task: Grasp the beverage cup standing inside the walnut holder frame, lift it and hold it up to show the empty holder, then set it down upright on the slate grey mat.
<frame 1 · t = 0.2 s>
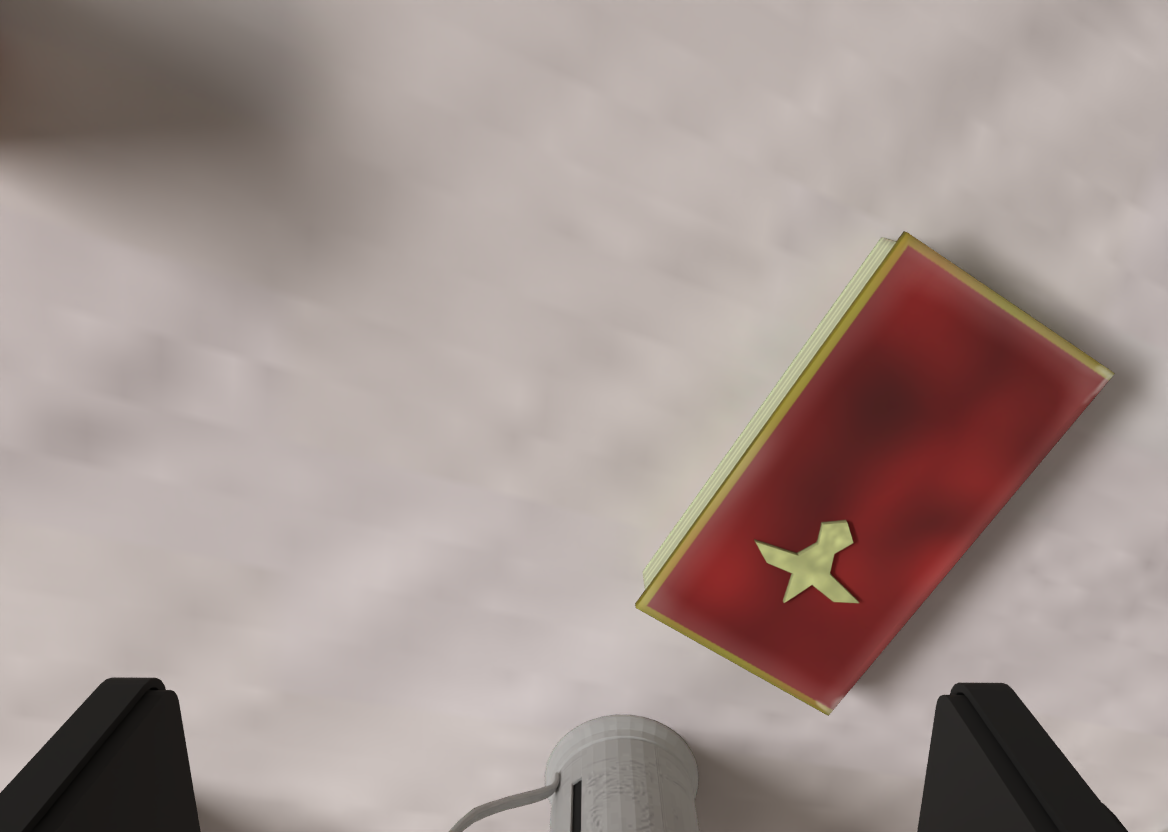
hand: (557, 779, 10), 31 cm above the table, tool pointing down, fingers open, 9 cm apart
hardcover book: (842, 466, 43), on the table
glass holder: (578, 760, 48), on the table
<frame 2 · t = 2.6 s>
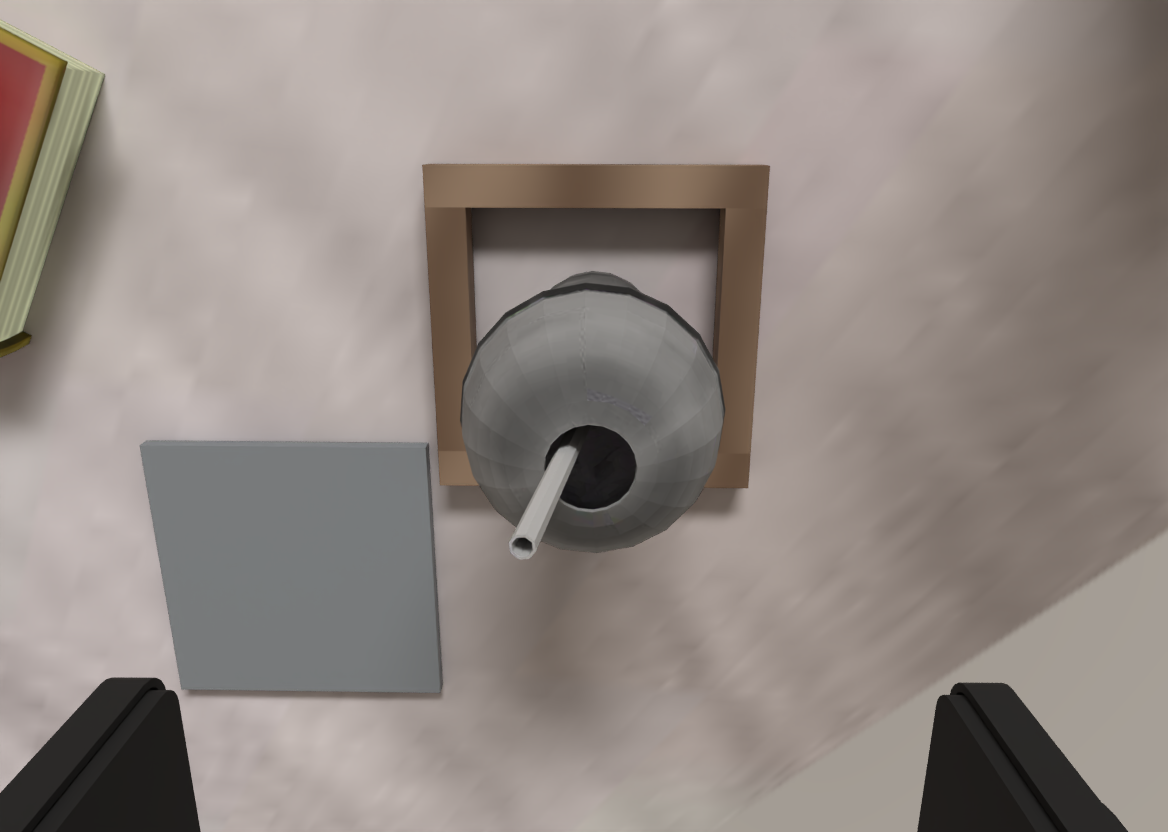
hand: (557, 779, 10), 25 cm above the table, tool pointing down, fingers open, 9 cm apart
slate mat: (301, 568, 38), on the table
beverage cup: (594, 326, 34), resting in holder frame
holder frame: (594, 327, 34), on the table
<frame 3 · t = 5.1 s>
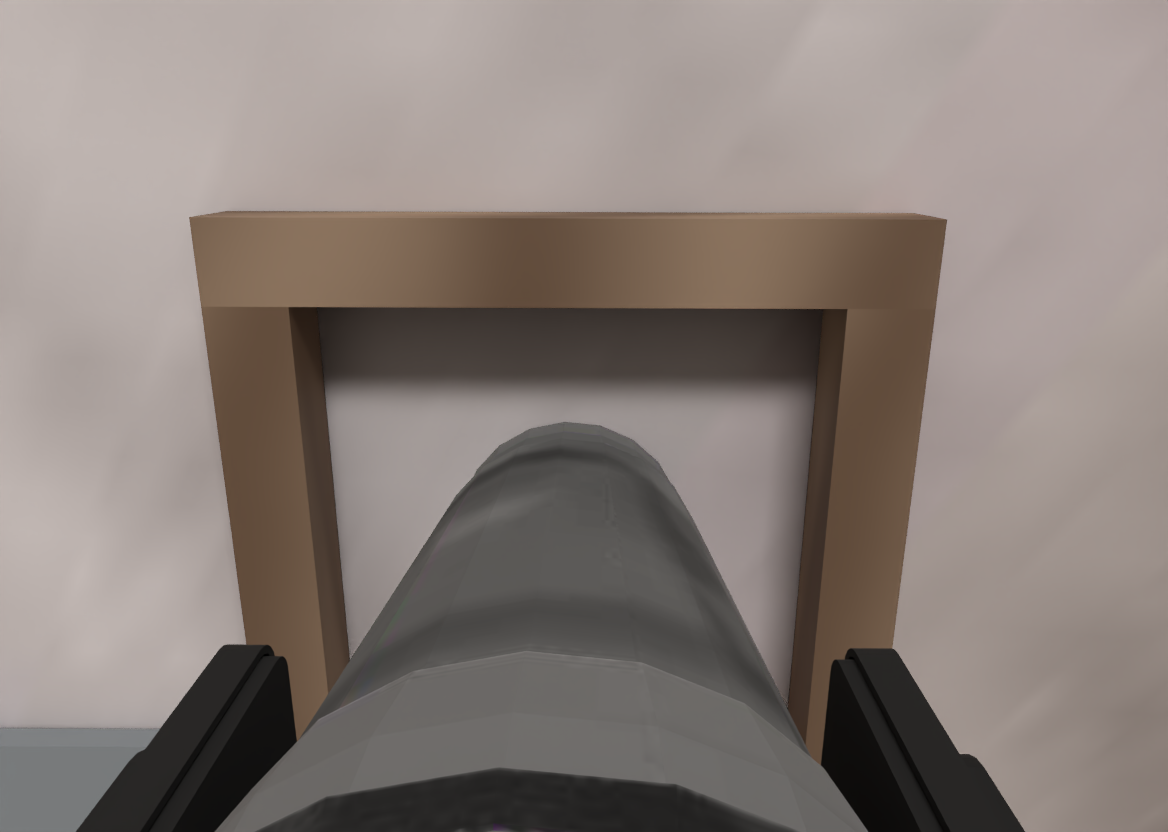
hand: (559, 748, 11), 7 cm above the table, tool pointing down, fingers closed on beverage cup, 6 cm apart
beverage cup: (571, 522, 18), resting in holder frame, touching gripper
holder frame: (570, 526, 17), on the table
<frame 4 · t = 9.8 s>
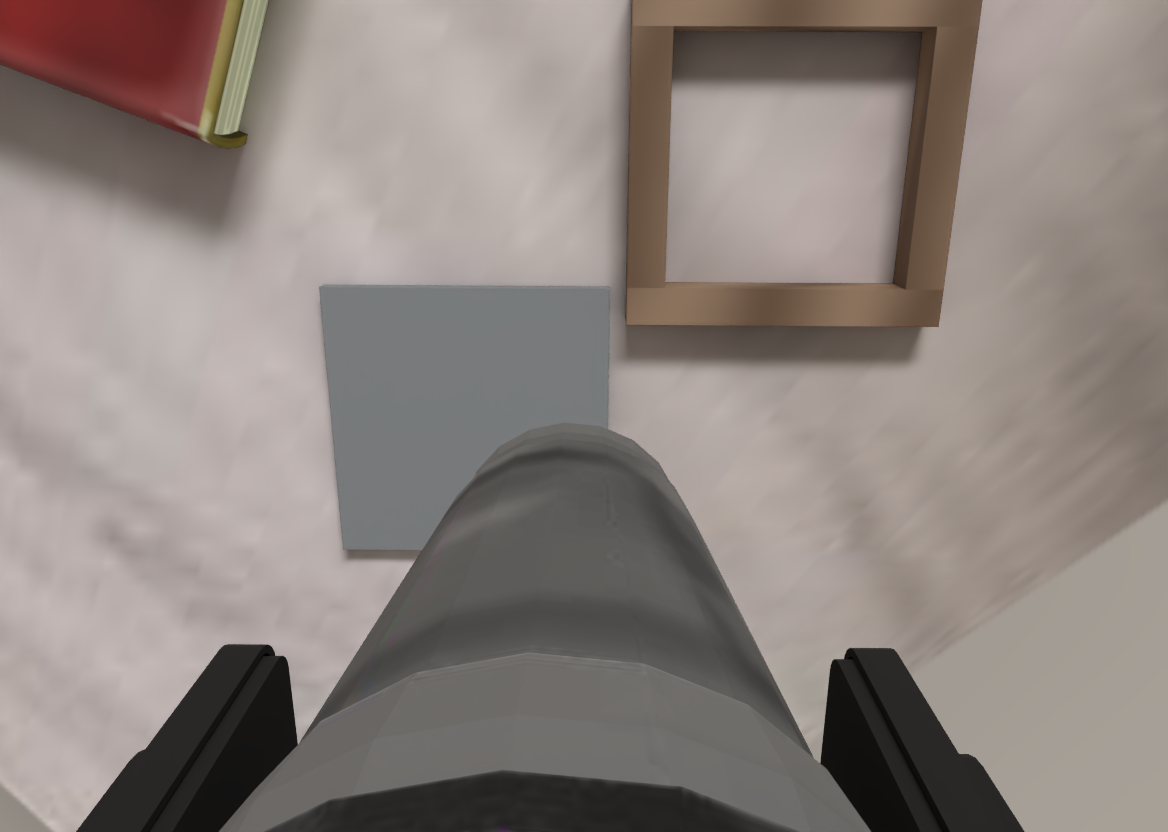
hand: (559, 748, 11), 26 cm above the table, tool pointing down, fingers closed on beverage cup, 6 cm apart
slate mat: (471, 421, 37), on the table
beverage cup: (571, 523, 18), point 19 cm above the table, touching gripper
holder frame: (786, 162, 34), on the table
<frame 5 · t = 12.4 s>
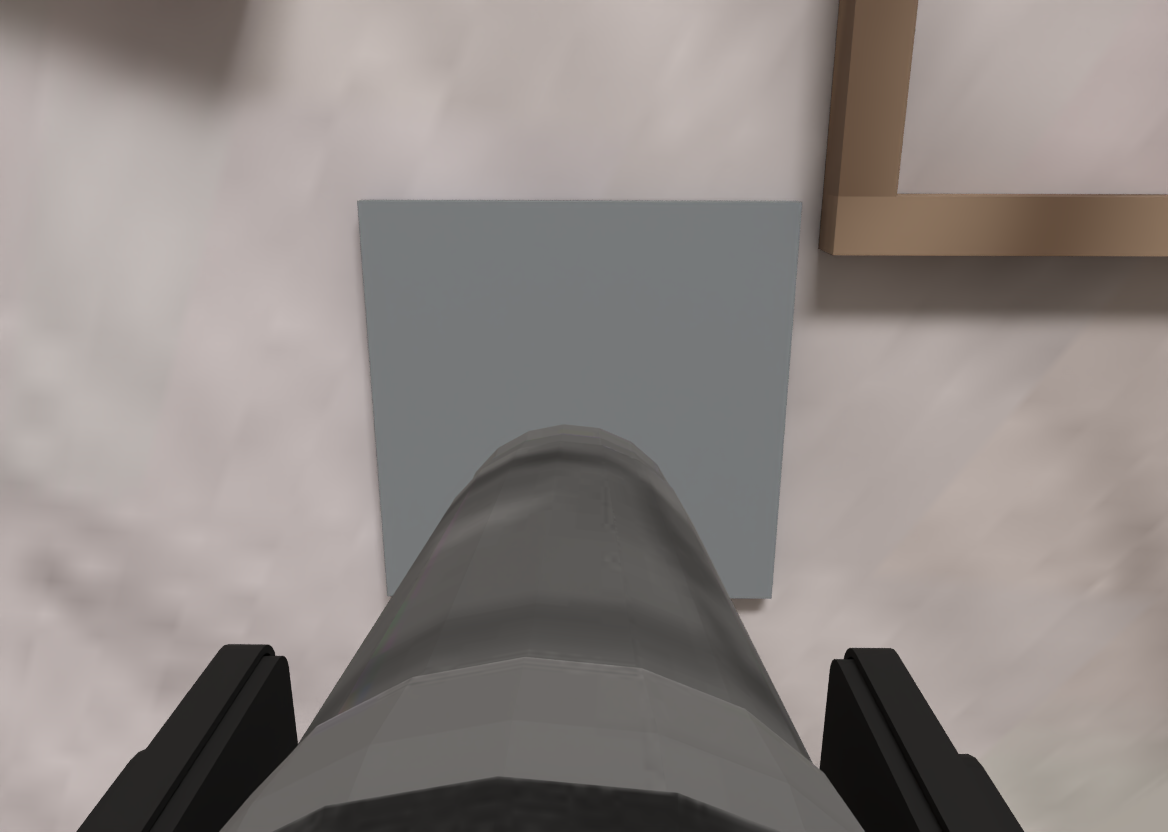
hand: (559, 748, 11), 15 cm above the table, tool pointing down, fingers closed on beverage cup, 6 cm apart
slate mat: (579, 408, 25), on the table
beverage cup: (569, 524, 18), point 8 cm above the table, touching gripper
holder frame: (1084, 1, 22), on the table
when the fingers open (8 cm above the table, at t = 14.7 s): beverage cup stays where it is, resting on slate mat.
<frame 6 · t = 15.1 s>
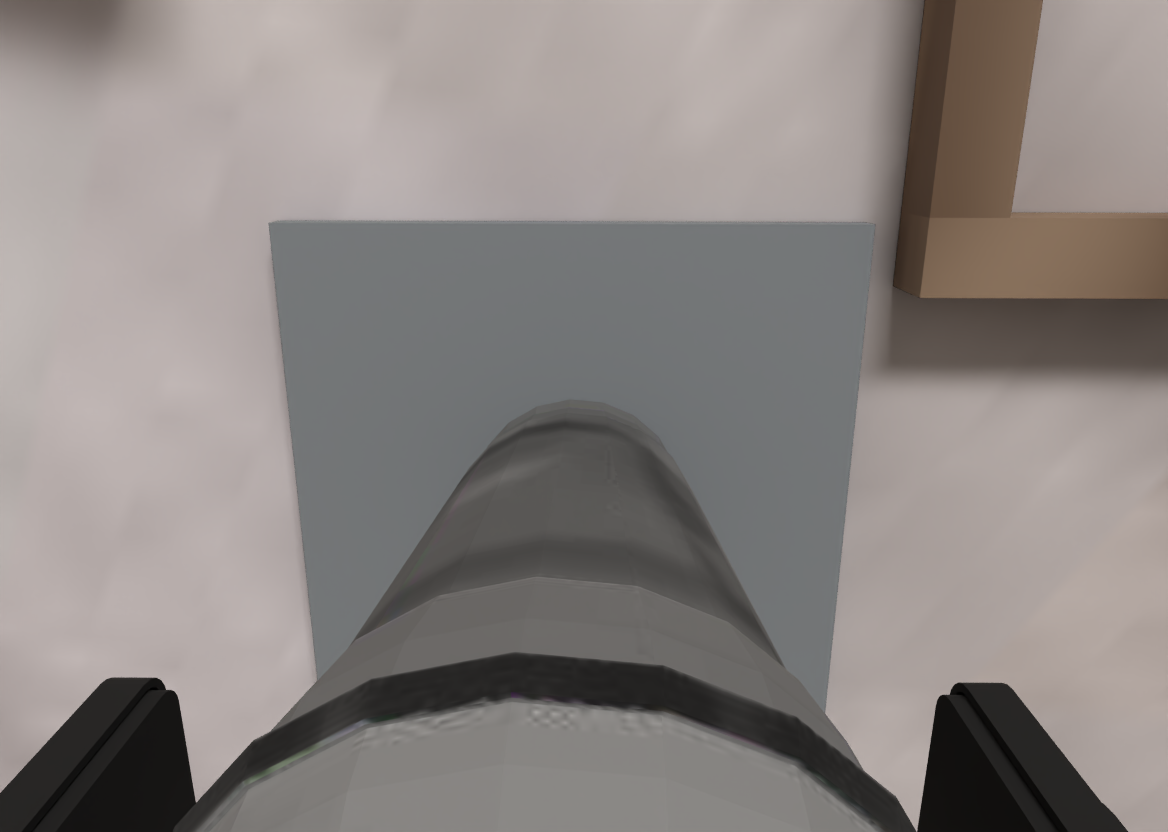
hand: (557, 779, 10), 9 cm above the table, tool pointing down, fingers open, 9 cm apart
slate mat: (572, 493, 19), on the table
beverage cup: (576, 495, 19), resting on slate mat
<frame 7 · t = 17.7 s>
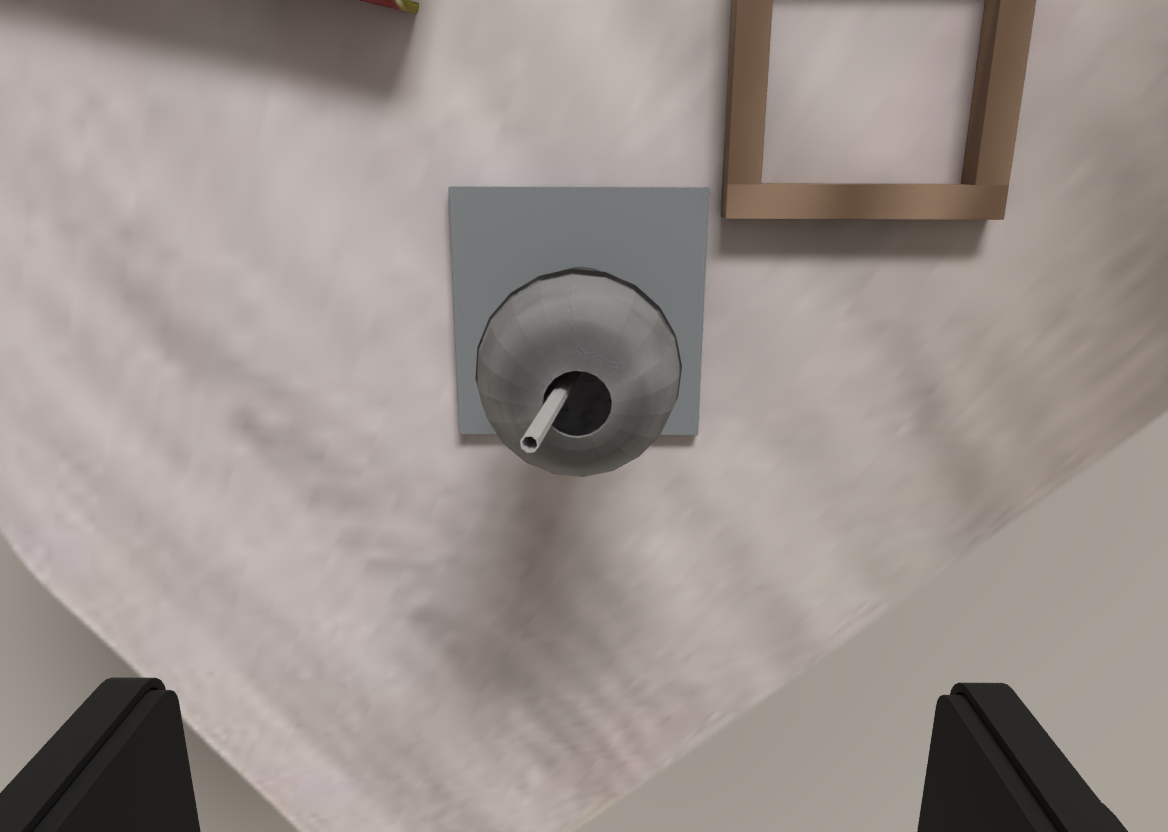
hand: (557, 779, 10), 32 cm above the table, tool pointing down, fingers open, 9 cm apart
slate mat: (578, 314, 41), on the table
beverage cup: (580, 313, 41), resting on slate mat
holder frame: (868, 72, 38), on the table
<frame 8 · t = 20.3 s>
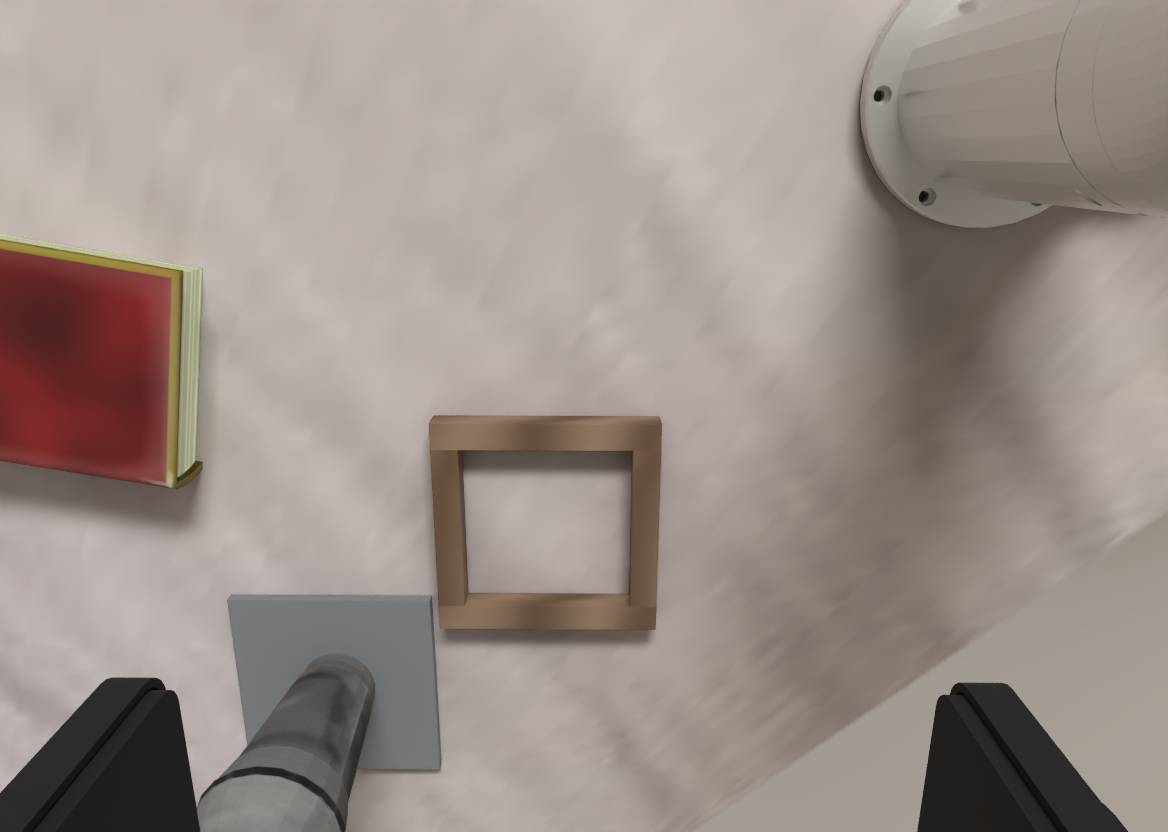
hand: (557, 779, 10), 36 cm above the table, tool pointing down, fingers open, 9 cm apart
hardcover book: (20, 336, 47), on the table
slate mat: (339, 681, 52), on the table
beverage cup: (339, 683, 52), resting on slate mat
holder frame: (547, 519, 49), on the table
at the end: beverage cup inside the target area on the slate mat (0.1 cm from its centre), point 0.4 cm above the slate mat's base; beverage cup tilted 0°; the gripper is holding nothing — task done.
